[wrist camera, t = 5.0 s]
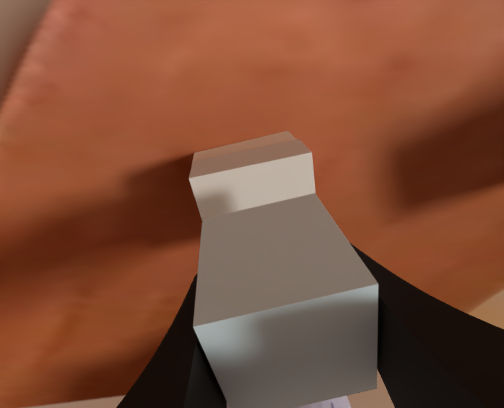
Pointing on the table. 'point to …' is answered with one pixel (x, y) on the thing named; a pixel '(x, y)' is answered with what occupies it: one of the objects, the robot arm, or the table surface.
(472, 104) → the table surface
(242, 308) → the pale blue block
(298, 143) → the beige block
